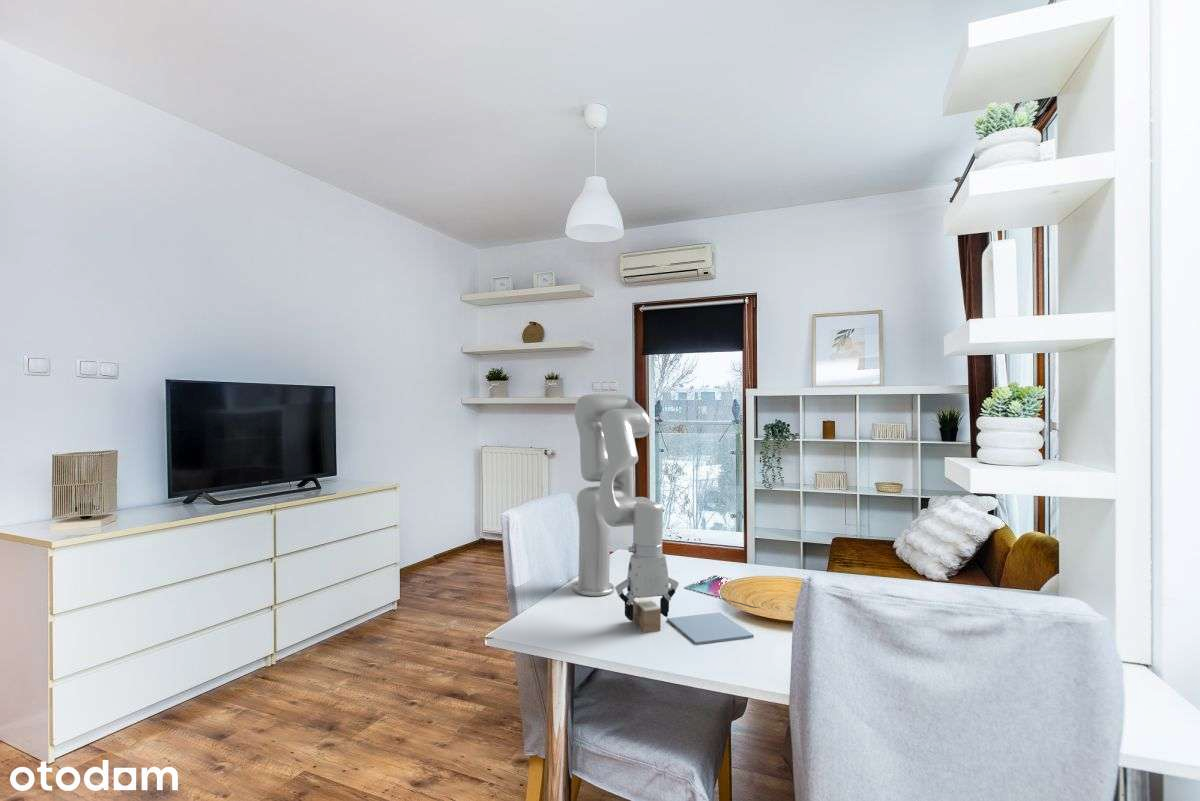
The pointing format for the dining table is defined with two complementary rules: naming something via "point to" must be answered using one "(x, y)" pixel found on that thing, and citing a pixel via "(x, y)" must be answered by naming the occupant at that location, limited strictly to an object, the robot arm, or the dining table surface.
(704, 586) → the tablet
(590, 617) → the dining table surface
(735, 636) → the mat
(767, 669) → the dining table surface
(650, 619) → the block
